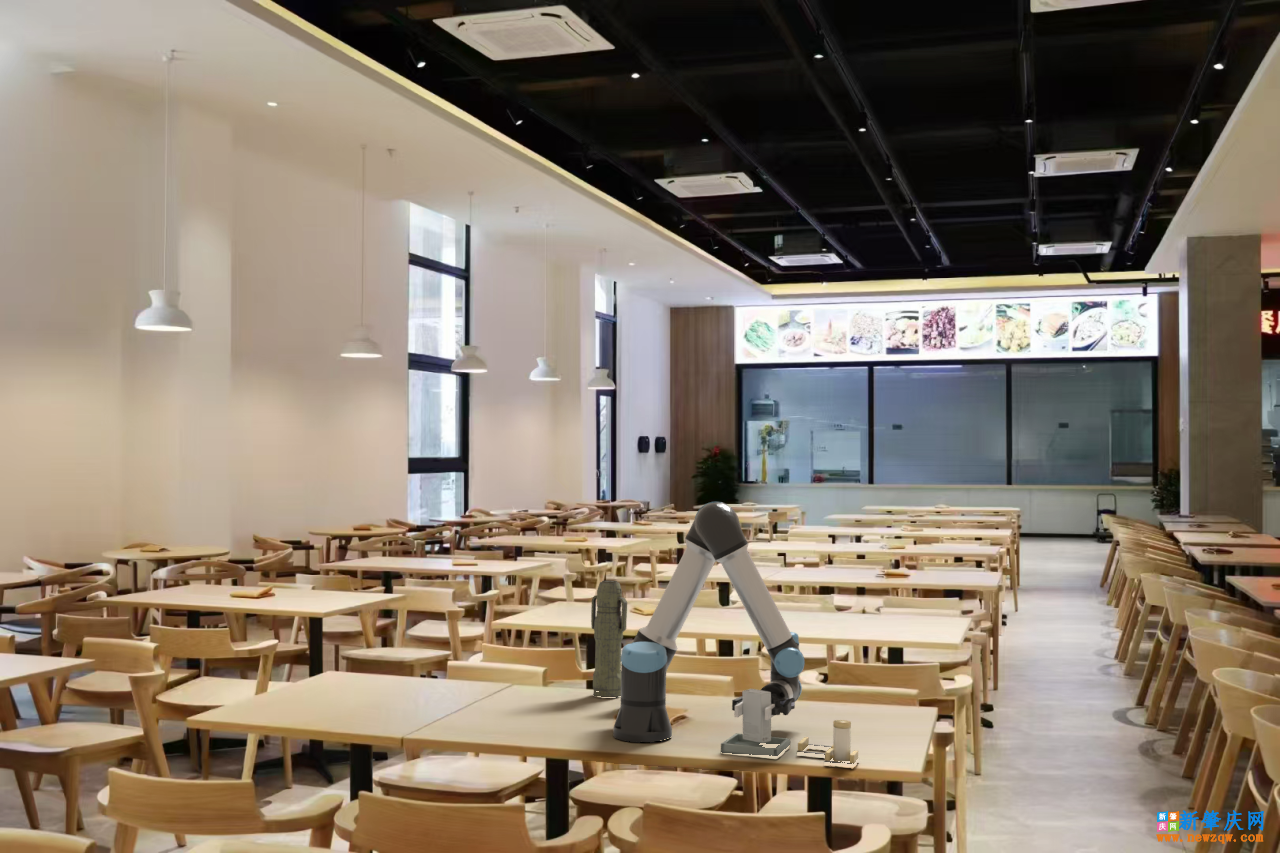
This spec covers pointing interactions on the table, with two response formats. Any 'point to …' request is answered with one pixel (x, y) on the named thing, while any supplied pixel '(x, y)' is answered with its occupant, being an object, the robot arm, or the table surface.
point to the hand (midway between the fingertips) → (751, 713)
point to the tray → (753, 746)
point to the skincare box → (756, 715)
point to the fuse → (841, 740)
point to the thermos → (608, 638)
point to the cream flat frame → (828, 753)
